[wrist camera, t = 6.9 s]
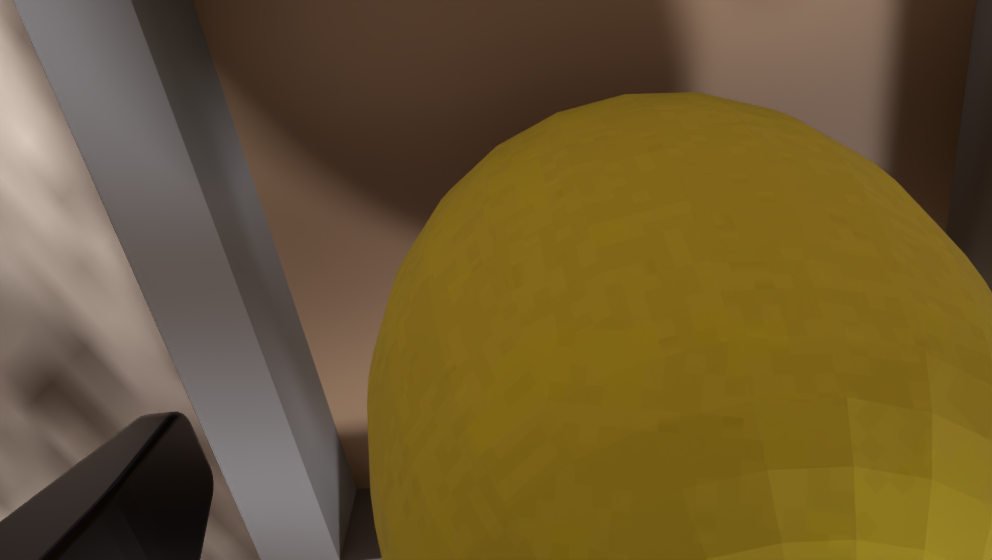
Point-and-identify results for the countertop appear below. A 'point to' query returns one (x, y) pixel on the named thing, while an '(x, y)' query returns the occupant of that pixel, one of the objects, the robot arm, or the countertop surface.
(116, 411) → the countertop surface
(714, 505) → the lemon
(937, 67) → the display plinth
